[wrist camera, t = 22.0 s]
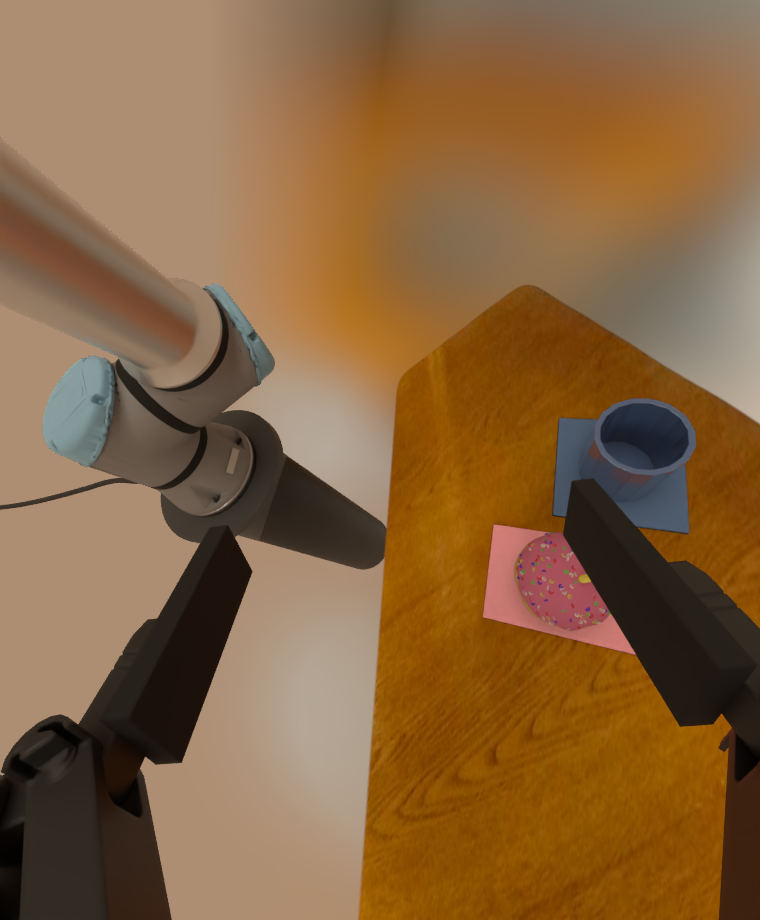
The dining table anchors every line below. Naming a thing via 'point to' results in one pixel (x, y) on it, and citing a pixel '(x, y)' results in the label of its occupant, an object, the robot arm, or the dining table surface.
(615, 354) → the dining table surface
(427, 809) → the dining table surface
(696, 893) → the dining table surface
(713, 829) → the dining table surface
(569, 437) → the blue mat
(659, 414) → the blue cup
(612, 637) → the rose mat
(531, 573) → the cupcake
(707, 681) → the robot arm
